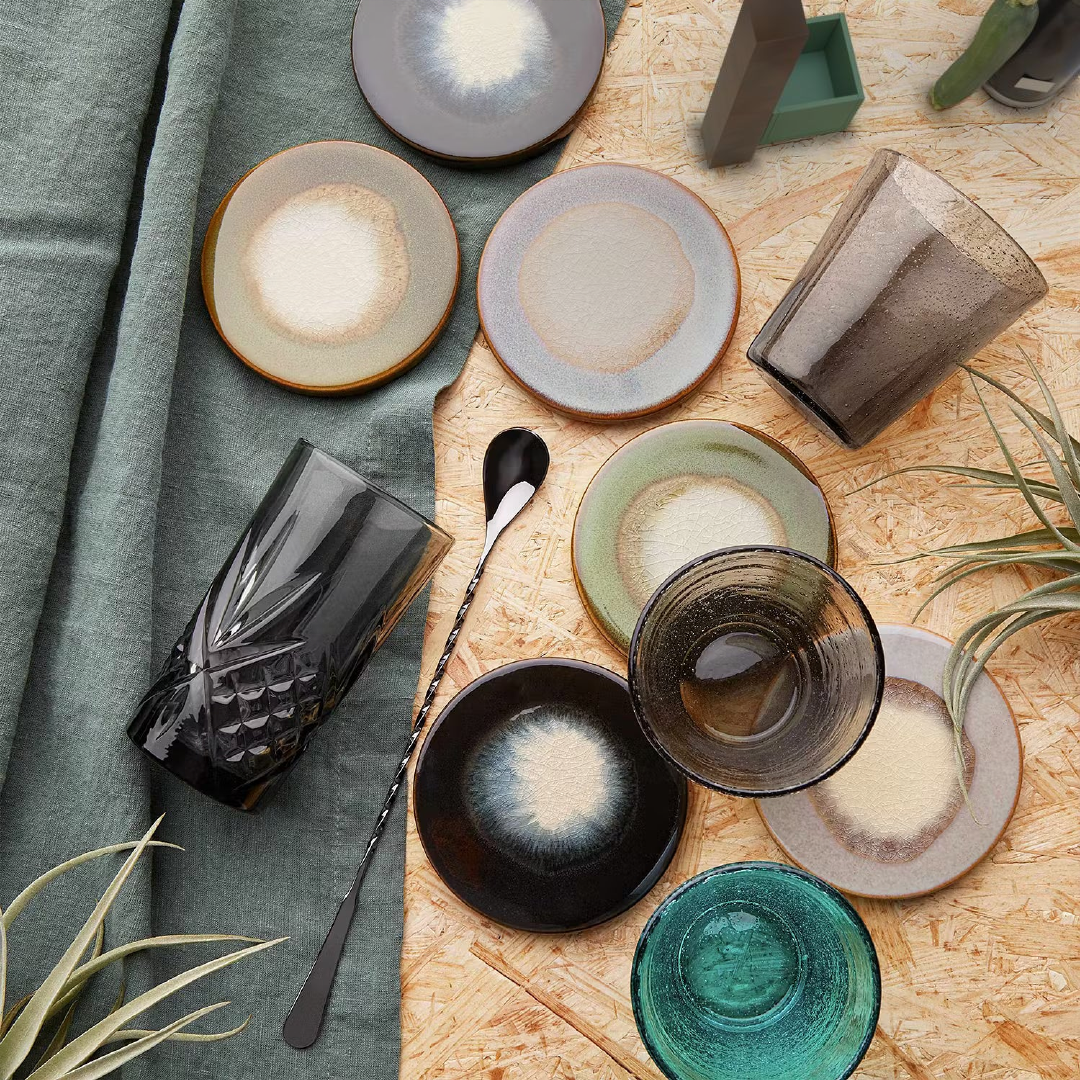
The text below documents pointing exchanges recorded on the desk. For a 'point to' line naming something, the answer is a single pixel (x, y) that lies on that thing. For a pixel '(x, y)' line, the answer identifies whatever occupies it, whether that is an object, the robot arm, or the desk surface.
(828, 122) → the sage bin
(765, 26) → the stand
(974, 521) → the desk surface
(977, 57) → the vegetable
